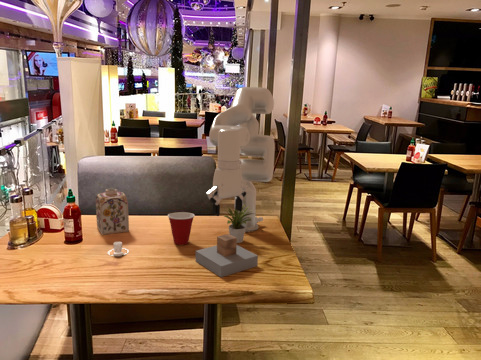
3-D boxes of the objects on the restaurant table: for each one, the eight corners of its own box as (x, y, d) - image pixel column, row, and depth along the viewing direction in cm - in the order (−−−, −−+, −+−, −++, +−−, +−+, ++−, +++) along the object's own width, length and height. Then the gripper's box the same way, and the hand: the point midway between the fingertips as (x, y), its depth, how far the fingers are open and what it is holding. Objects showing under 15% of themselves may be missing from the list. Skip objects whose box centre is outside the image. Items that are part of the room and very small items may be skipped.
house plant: (240, 251, 158) (241, 210, 155) (212, 243, 166) (212, 204, 162) (259, 240, 170) (260, 203, 166) (232, 233, 177) (233, 197, 174)
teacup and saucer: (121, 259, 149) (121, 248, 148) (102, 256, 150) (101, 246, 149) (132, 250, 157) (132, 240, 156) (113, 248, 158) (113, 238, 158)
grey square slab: (230, 251, 158) (230, 241, 157) (257, 266, 145) (257, 255, 144) (195, 261, 148) (195, 250, 147) (220, 277, 136) (221, 266, 135)
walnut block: (228, 249, 149) (228, 233, 148) (236, 253, 145) (236, 238, 144) (216, 252, 146) (217, 236, 145) (224, 256, 142) (225, 240, 141)
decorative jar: (96, 227, 180) (94, 187, 177) (123, 223, 186) (121, 185, 182) (101, 235, 170) (99, 194, 166) (129, 231, 176) (128, 191, 172)
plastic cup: (194, 237, 171) (194, 210, 169) (194, 247, 161) (194, 218, 158) (168, 237, 170) (168, 210, 167) (166, 247, 160) (166, 218, 157)
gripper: (241, 160, 147) (240, 206, 151) (201, 165, 136) (200, 214, 140) (255, 164, 141) (253, 211, 145) (213, 169, 131) (213, 219, 135)
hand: (227, 212), depth 143 cm, fingers open, 9 cm apart
